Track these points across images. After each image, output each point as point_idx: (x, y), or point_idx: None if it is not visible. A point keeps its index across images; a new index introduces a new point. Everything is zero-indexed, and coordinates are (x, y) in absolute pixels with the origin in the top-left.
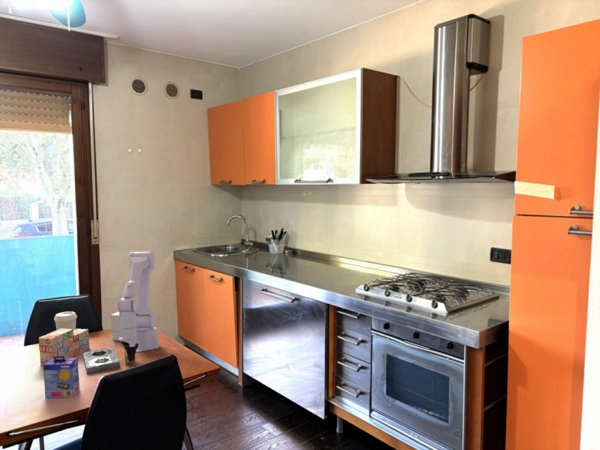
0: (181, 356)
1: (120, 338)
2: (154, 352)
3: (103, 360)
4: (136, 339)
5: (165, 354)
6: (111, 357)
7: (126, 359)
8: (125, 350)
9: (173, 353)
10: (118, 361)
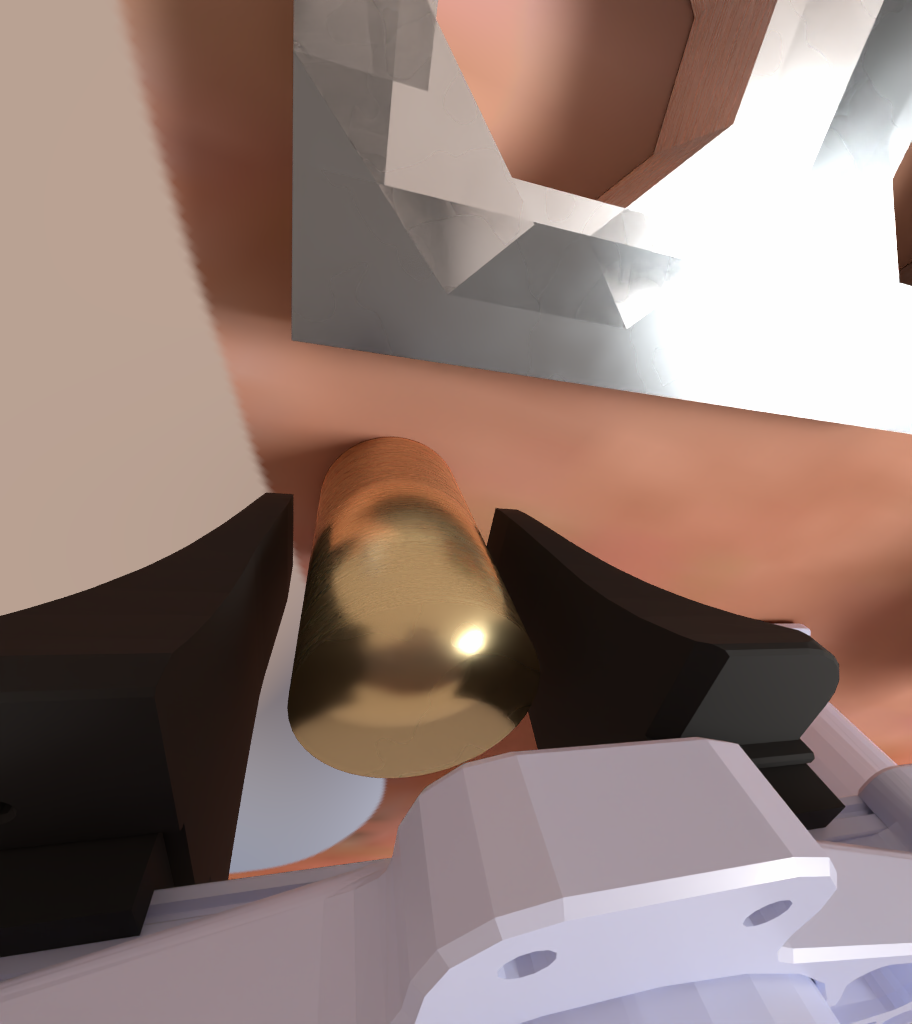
0: (258, 870)
1: (638, 958)
2: (523, 733)
3: (704, 117)
4: (810, 738)
5: (400, 791)
6: (635, 278)
7: (355, 480)
8: (377, 570)
9: (378, 833)
10: (306, 321)
